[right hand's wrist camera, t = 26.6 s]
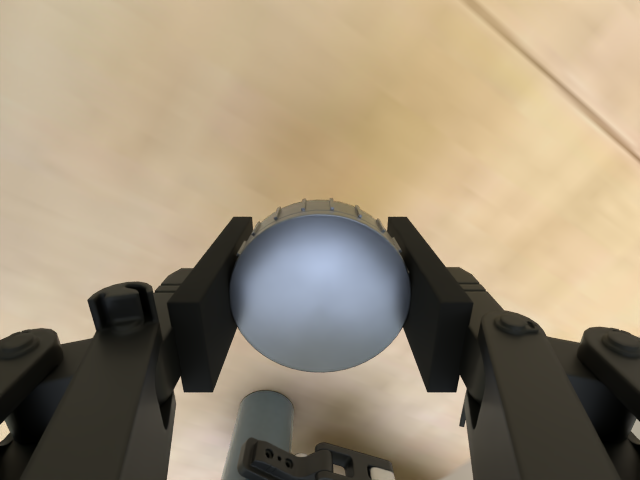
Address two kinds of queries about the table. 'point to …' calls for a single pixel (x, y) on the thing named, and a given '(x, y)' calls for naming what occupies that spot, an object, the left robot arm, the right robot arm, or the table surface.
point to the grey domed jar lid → (320, 287)
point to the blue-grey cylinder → (260, 426)
